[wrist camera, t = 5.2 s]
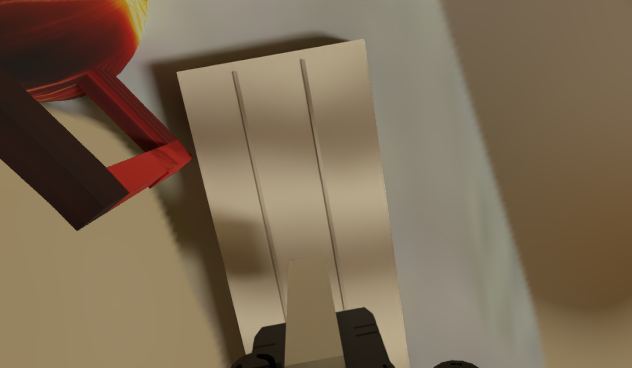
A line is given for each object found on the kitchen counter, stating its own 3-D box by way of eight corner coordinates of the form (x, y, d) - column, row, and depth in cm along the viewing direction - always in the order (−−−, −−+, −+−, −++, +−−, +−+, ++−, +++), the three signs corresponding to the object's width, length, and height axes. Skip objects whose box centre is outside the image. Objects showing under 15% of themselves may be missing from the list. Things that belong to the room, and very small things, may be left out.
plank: (185, 73, 19) (175, 71, 17) (358, 42, 19) (364, 38, 17) (264, 403, 23) (262, 425, 21) (406, 376, 23) (414, 397, 21)
